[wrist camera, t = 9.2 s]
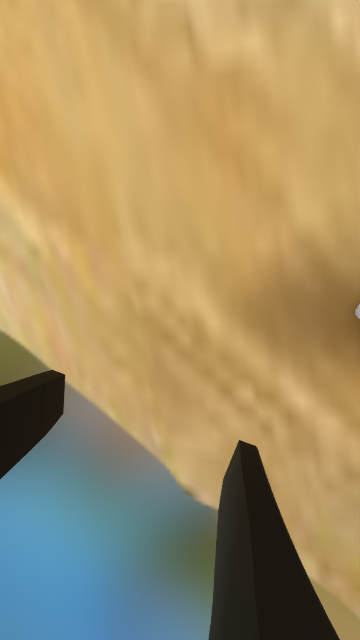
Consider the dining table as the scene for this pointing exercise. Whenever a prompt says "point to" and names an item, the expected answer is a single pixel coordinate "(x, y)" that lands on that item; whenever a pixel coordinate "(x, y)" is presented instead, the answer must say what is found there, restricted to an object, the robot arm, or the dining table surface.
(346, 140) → the dining table surface
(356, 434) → the dining table surface
